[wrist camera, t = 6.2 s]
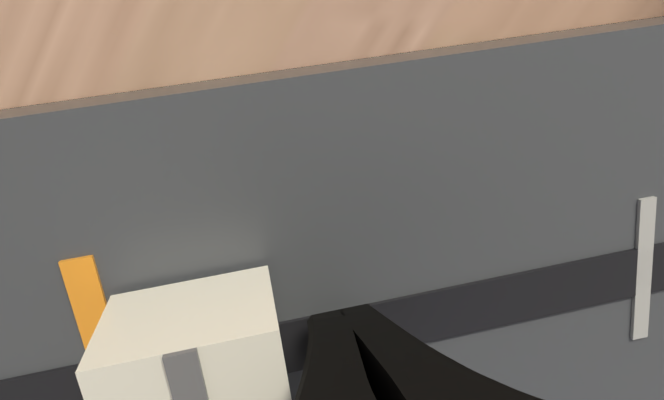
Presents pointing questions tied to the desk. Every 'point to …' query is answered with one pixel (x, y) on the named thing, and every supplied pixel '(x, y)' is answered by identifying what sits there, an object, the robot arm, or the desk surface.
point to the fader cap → (189, 343)
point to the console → (363, 207)
